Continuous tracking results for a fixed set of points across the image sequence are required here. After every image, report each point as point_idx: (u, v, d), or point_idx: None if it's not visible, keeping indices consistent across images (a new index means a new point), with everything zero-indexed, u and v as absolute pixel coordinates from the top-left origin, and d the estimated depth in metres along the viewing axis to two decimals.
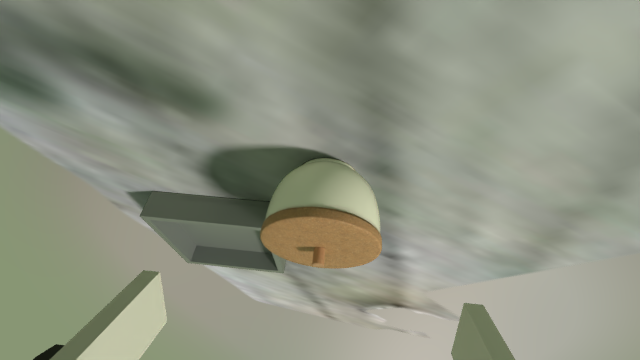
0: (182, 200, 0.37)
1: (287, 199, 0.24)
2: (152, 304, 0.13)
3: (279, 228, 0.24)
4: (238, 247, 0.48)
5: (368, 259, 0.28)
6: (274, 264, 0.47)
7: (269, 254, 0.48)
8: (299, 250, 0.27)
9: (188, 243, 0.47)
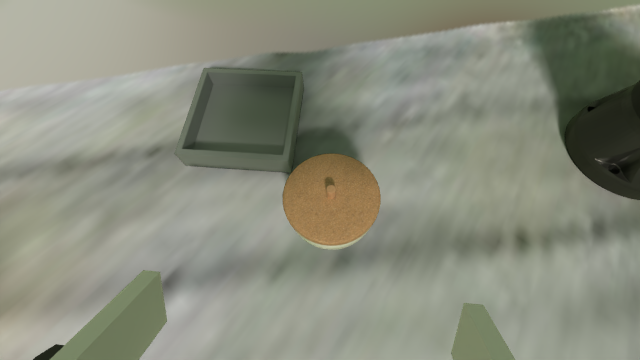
0: (300, 104, 0.47)
1: None
2: (152, 304, 0.13)
3: (361, 170, 0.34)
4: (209, 120, 0.47)
5: (313, 233, 0.31)
6: (186, 147, 0.43)
7: (193, 146, 0.44)
8: (326, 179, 0.34)
9: (228, 81, 0.49)
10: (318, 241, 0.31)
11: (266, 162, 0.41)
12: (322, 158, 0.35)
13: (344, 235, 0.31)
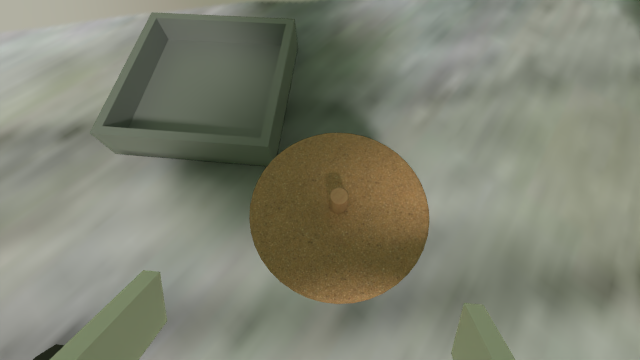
0: (291, 68, 0.32)
1: None
2: (152, 304, 0.13)
3: (393, 162, 0.19)
4: (156, 88, 0.32)
5: (302, 280, 0.16)
6: (112, 125, 0.28)
7: (127, 125, 0.29)
8: (329, 176, 0.19)
9: (188, 34, 0.34)
10: (313, 297, 0.16)
11: (234, 149, 0.26)
12: (323, 140, 0.20)
13: (363, 286, 0.16)
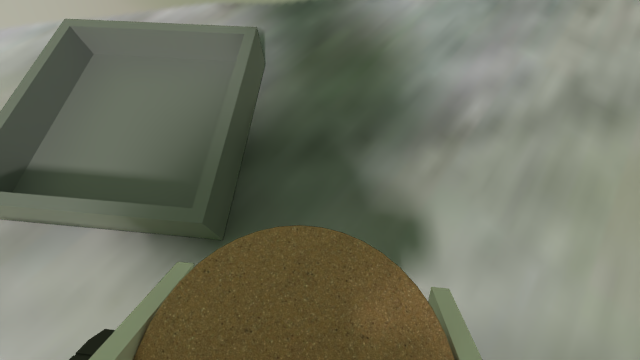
0: (253, 93, 0.24)
1: None
2: None
3: (394, 290, 0.11)
4: (66, 123, 0.23)
5: None
6: None
7: (16, 178, 0.21)
8: (277, 322, 0.10)
9: (118, 47, 0.25)
10: None
11: (156, 223, 0.17)
12: (271, 243, 0.11)
13: None
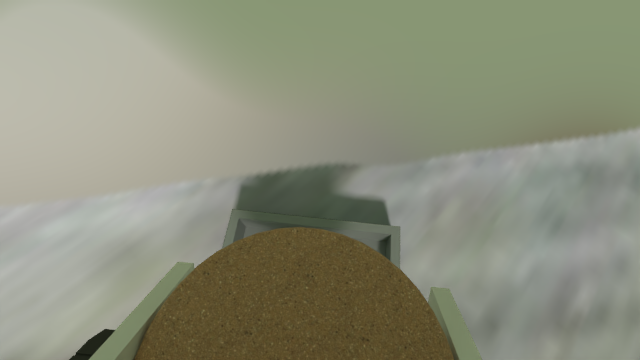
0: None
1: None
2: None
3: (394, 292, 0.11)
4: None
5: None
6: None
7: None
8: (277, 325, 0.10)
9: (271, 227, 0.30)
10: None
11: None
12: (271, 245, 0.11)
13: None
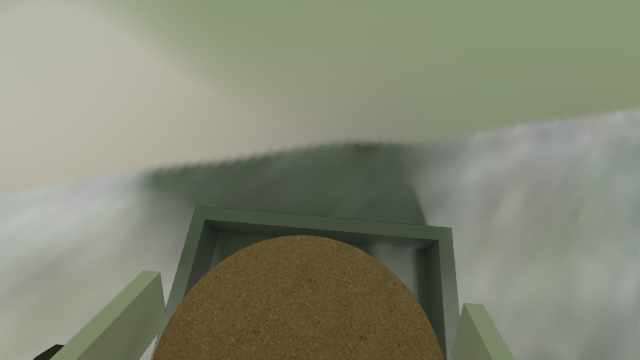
0: None
1: None
2: (152, 304, 0.13)
3: (389, 294, 0.12)
4: None
5: None
6: None
7: None
8: (283, 324, 0.11)
9: (256, 231, 0.20)
10: None
11: None
12: (277, 252, 0.12)
13: None
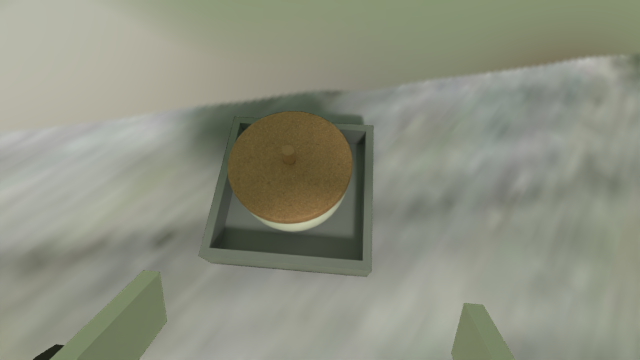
0: None
1: None
2: (152, 304, 0.13)
3: (330, 130, 0.27)
4: None
5: (263, 207, 0.24)
6: (214, 241, 0.29)
7: (222, 235, 0.31)
8: (284, 140, 0.27)
9: None
10: (269, 217, 0.24)
11: (336, 269, 0.28)
12: (281, 116, 0.28)
13: (303, 209, 0.24)
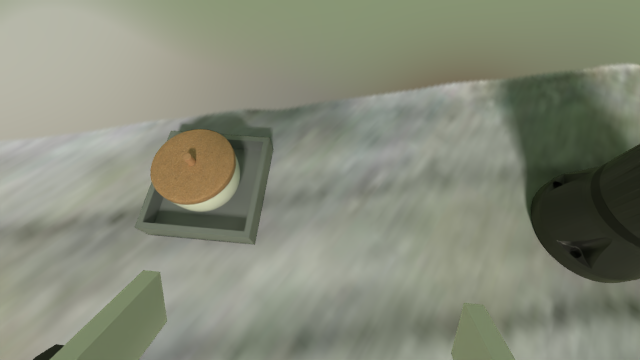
0: (267, 170, 0.47)
1: (234, 154, 0.41)
2: (152, 304, 0.13)
3: (222, 142, 0.40)
4: None
5: (169, 193, 0.37)
6: (148, 218, 0.42)
7: (156, 215, 0.44)
8: (190, 149, 0.39)
9: None
10: (173, 200, 0.37)
11: (227, 237, 0.40)
12: (191, 133, 0.41)
13: (195, 195, 0.37)
